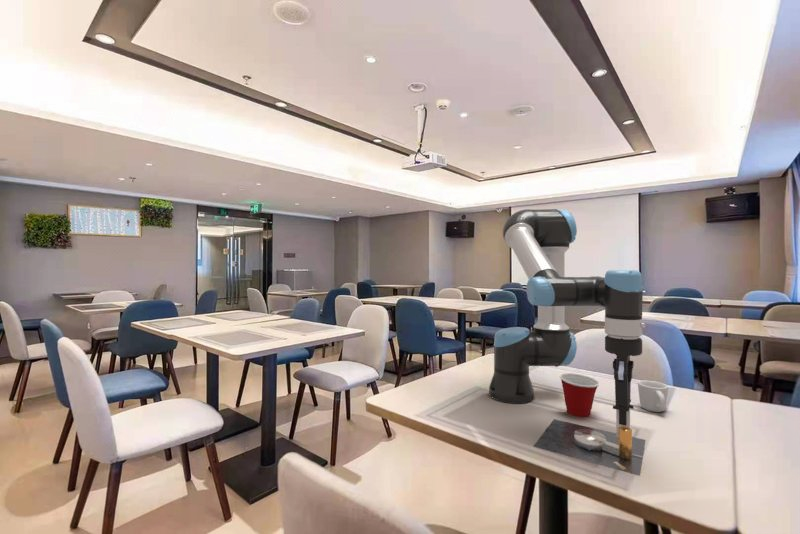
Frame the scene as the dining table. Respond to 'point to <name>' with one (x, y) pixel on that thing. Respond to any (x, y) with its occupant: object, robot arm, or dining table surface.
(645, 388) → the cup
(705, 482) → the dining table surface
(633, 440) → the panel
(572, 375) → the plastic cup
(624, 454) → the metal measuring spoon
